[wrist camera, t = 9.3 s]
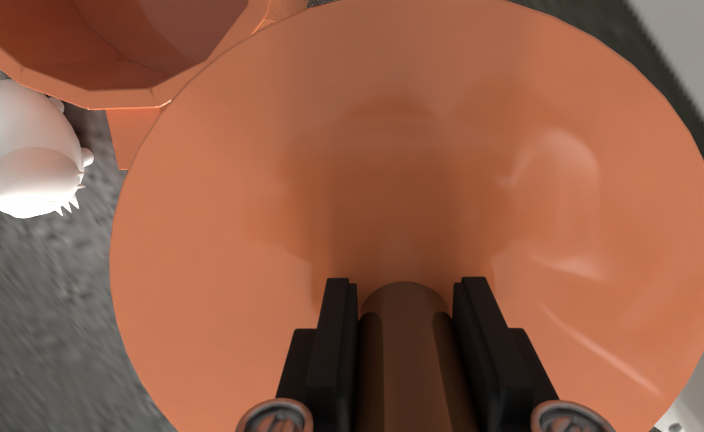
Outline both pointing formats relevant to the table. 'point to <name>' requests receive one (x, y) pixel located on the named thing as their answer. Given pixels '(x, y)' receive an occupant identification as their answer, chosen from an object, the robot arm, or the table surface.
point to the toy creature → (37, 153)
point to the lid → (413, 215)
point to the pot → (124, 52)
